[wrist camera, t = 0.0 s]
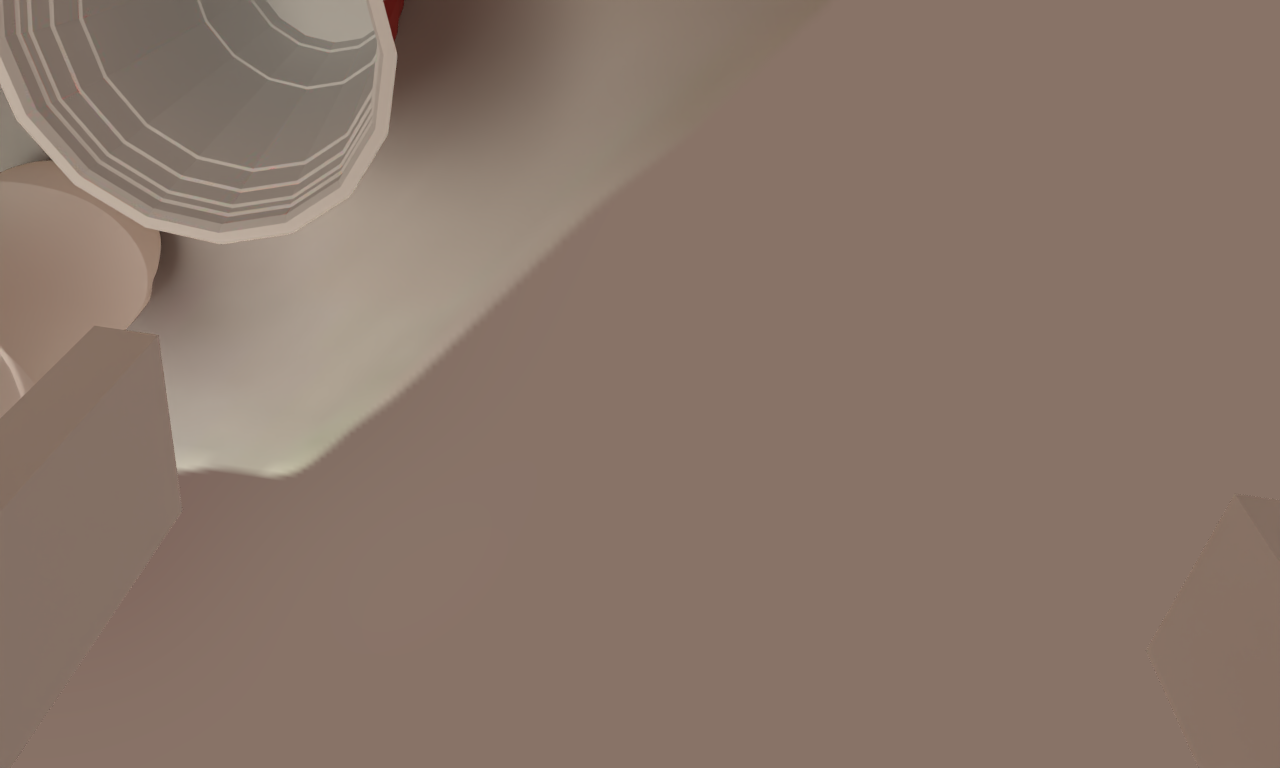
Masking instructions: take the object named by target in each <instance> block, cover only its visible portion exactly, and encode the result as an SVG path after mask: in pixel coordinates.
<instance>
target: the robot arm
mask: <svg viewBox="0 0 1280 768" xmlns="http://www.w3.org/2000/svg"><path fill="white" fill-rule="evenodd" d="M181 512H182V505H181V498H180V490H179V483H178V476H177V468H176V461H175V454H174V446H173V439H172V432H171V424H170V417H169V410H168V403H167V395H166V388H165V381H164V373H163V366H162V359H161V351H160V344H159V337H158V335H155V334H148V333H141V332H134V331H128V330H121V329H114V328H107V327H100V326H93V327H92V328H91V329H90V330H89V331H88V332H87V333H86V334H85V335H84V336H83V337H82V338H81V339H80V340H79V341H78V342H77V343H76V344H75V345H74V346H73V347H72V348H71V349H70V350H69V351H68V352H67V353H66V354H65V355H64V356H63V357H62V358H61V359H60V360H59V361H58V362H57V363H56V364H55V365H54V366H53V367H52V368H51V369H50V370H49V371H48V372H47V373H46V374H45V375H44V376H43V377H42V378H41V379H40V380H39V381H38V382H37V383H36V384H35V385H34V386H33V387H32V388H31V389H30V390H29V391H28V392H27V393H26V394H25V395H24V396H23V397H22V398H21V399H20V400H19V401H18V402H17V403H16V404H15V405H14V406H12V407H11V408H10V409H9V410H8V411H7V412H6V413H5V414H4V415H3V416H2V417H1V418H0V768H11V766H12V765H13V763H14V762H15V760H16V759H17V757H18V756H19V754H20V753H21V752H22V750H23V749H24V747H25V746H26V744H27V742H28V741H29V739H30V738H31V737H32V735H33V734H34V732H35V731H36V729H37V728H38V726H39V724H40V723H41V722H42V720H43V718H44V717H45V716H46V714H47V713H48V711H49V710H50V708H51V707H52V705H53V704H54V702H55V701H56V699H57V698H58V696H59V694H60V693H61V692H62V690H63V689H64V687H65V686H66V684H67V683H68V681H69V680H70V678H71V677H72V675H73V674H74V672H75V671H76V669H77V668H78V666H79V665H80V663H81V662H82V660H83V659H84V657H85V656H86V654H87V653H88V651H89V650H90V648H91V647H92V645H93V644H94V642H95V641H96V639H97V638H98V636H99V635H100V633H101V632H102V631H103V629H104V628H105V626H106V625H107V623H108V621H109V620H110V619H111V617H112V616H113V614H114V612H115V611H116V610H117V608H118V607H119V605H120V603H121V602H122V600H123V599H124V598H125V596H126V594H127V593H128V592H129V590H130V589H131V587H132V586H133V584H134V582H135V581H136V580H137V578H138V577H139V575H140V574H141V572H142V571H143V569H144V568H145V566H146V565H147V563H148V561H149V560H150V559H151V557H152V556H153V554H154V553H155V551H156V550H157V548H158V547H159V545H160V544H161V542H162V541H163V539H164V538H165V536H166V535H167V533H168V532H169V530H170V529H171V527H172V526H173V524H174V523H175V521H176V520H177V518H178V517H179V515H180V514H181ZM1146 652H1147V654H1148V656H1149V659H1150V661H1151V663H1152V665H1153V668H1154V670H1155V672H1156V674H1157V677H1158V679H1159V681H1160V683H1161V685H1162V688H1163V690H1164V692H1165V694H1166V696H1167V699H1168V701H1169V703H1170V705H1171V708H1172V710H1173V712H1174V714H1175V717H1176V719H1177V721H1178V723H1179V725H1180V728H1181V730H1182V732H1183V735H1184V737H1185V739H1186V741H1187V743H1188V746H1189V748H1190V750H1191V752H1192V755H1193V757H1194V759H1195V761H1196V763H1197V766H1198V768H1280V500H1275V499H1268V498H1261V497H1255V496H1248V495H1241V494H1234V496H1233V498H1232V500H1231V501H1230V503H1229V505H1228V507H1227V508H1226V510H1225V512H1224V514H1223V515H1222V517H1221V519H1220V521H1219V522H1218V524H1217V526H1216V528H1215V529H1214V532H1213V533H1212V535H1211V537H1210V538H1209V540H1208V542H1207V544H1206V545H1205V547H1204V549H1203V551H1202V552H1201V554H1200V556H1199V558H1198V559H1197V561H1196V563H1195V565H1194V567H1193V568H1192V570H1191V572H1190V574H1189V575H1188V577H1187V579H1186V581H1185V582H1184V584H1183V586H1182V588H1181V590H1180V591H1179V593H1178V595H1177V596H1176V598H1175V600H1174V602H1173V603H1172V605H1171V607H1170V609H1169V611H1168V613H1167V614H1166V616H1165V618H1164V619H1163V621H1162V623H1161V625H1160V626H1159V628H1158V630H1157V632H1156V633H1155V635H1154V637H1153V639H1152V641H1151V642H1150V644H1149V646H1148V648H1147V649H1146Z"/></svg>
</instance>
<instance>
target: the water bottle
mask: <svg viewBox="0 0 1280 768" xmlns="http://www.w3.org/2000/svg"><path fill="white" fill-rule="evenodd" d="M160 252H161V238H160V233H159V230H154V229H150V228H145V227H144V226H142V225H140V224H139V223H137V222H135V221H134V220H132V219H130V218H129V217H127V216H126V215H124V214H122V213H121V212H119V211H117V210H116V209H114V208H112V207H111V206H109V205H107V204H106V203H104V202H102V201H101V200H99V199H97V198H96V197H94V196H92V195H91V194H89V193H87V192H86V191H84V190H82V189H81V188H79V187H77V186H76V185H74V184H73V183H72V182H71V181H70V179H69V178H68V177H67V176H66V175H65V174H64V173H63V172H62V170H61V169H60V168H59V167H58V166H57V165H56V164H55V163H54V161H38V162H31V163H26V164H23V165H19V166H16V167H13V168H10V169H7V170H5V171H3V172H0V418H1V417H2V416H3V415H4V414H5V413H6V412H7V411H8V410H9V409H10V408H11V407H12V406H14V405H15V404H16V403H17V402H18V401H19V400H20V399H21V398H22V397H23V396H24V395H25V394H26V393H27V392H28V391H29V390H30V389H31V388H32V387H33V386H34V385H35V384H36V383H37V382H38V381H39V380H40V379H41V378H42V377H43V376H44V375H45V374H46V373H47V372H48V371H49V370H50V369H51V368H52V367H53V366H54V365H55V364H56V363H57V362H58V361H59V360H60V359H61V358H62V357H63V356H64V355H65V354H66V353H67V352H68V351H69V350H70V349H71V348H72V347H73V346H74V345H75V344H76V343H77V342H78V341H79V340H80V339H81V338H82V337H83V336H84V335H85V334H86V333H87V332H88V331H89V330H90V329H91V328H92V327H93V326H100V327H107V328H114V329H121V330H125V329H126V328H128V327H129V325H130V324H131V323H132V322H133V321H134V320H135V319H136V318H137V316H138V315H139V314H140V313H141V311H142V310H143V309H144V307H145V306H146V305H147V304H148V302H149V300H150V297H151V293H152V283H153V280H154V277H155V275H156V272H157V269H158V265H159V259H160Z"/></svg>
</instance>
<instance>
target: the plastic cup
mask: <svg viewBox="0 0 1280 768" xmlns="http://www.w3.org/2000/svg"><path fill="white" fill-rule="evenodd" d="M403 6H404V0H0V85H1V87H2V89H3V92H4V94H5V96H6V98H7V101H8V103H9V105H10V107H11V110H12V112H13V114H14V116H15V119H16V120H17V121H18V122H19V123H20V124H21V126H22V127H23V128H24V129H25V130H26V131H27V132H28V133H29V135H30V136H31V137H32V138H33V139H34V140H35V141H36V142H37V144H38V145H39V146H40V147H41V148H42V149H43V150H44V151H45V152H46V154H47V155H48V156H49V157H50V158H51V159H52V160H53V161H54V163H55V164H56V165H57V166H58V167H59V168H60V169H61V170H62V172H63V173H64V174H65V175H66V176H67V177H68V178H69V179H70V181H71V182H72V183H73V184H74V185H76V186H77V187H79V188H81V189H82V190H84V191H86V192H87V193H89V194H91V195H92V196H94V197H96V198H97V199H99V200H101V201H102V202H104V203H106V204H107V205H109V206H111V207H112V208H114V209H116V210H117V211H119V212H121V213H122V214H124V215H126V216H127V217H129V218H130V219H132V220H134V221H135V222H137V223H139V224H140V225H142V226H144V227H145V228H150V229H154V230H159V231H163V232H168V233H172V234H177V235H181V236H185V237H190V238H194V239H199V240H203V241H208V242H212V243H217V244H228V243H235V242H241V241H248V240H255V239H261V238H268V237H275V236H281V235H288V234H293V233H294V232H296V231H298V230H299V229H301V228H302V227H304V226H305V225H307V224H308V223H310V222H311V221H313V220H315V219H316V218H318V217H319V216H321V215H322V214H324V213H325V212H327V211H328V210H330V209H332V208H333V207H335V206H336V205H338V204H339V203H341V202H342V201H344V200H346V199H347V198H349V197H350V196H351V195H352V193H353V192H354V190H355V188H356V187H357V185H358V183H359V182H360V180H361V178H362V177H363V175H364V173H365V172H366V170H367V168H368V167H369V165H370V164H371V162H372V160H373V159H374V157H375V155H376V154H377V152H378V150H379V149H380V147H381V145H382V144H383V142H384V140H385V139H386V137H387V135H388V131H389V123H390V114H391V106H392V97H393V89H394V81H395V72H396V64H397V51H396V47H395V43H394V41H395V38H396V35H397V32H398V22H399V17H400V14H401V12H402V9H403Z"/></svg>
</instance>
